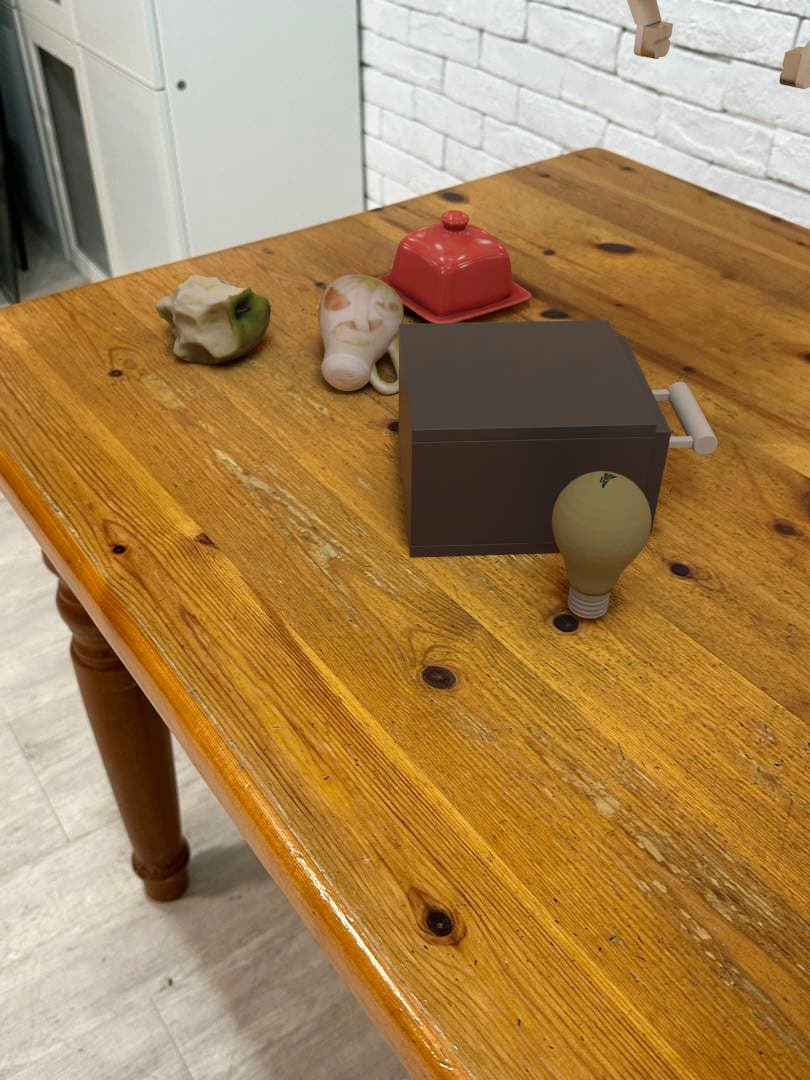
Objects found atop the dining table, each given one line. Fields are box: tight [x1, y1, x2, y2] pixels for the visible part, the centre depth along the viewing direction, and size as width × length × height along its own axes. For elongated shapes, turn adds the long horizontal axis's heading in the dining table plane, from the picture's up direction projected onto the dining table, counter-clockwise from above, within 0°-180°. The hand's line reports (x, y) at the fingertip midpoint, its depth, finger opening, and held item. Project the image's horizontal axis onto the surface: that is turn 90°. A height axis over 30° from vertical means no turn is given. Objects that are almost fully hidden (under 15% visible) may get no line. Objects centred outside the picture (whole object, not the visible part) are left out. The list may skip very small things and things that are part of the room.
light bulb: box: [552, 471, 651, 620], centre depth 61 cm, size 6×6×10 cm
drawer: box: [616, 335, 719, 534], centre depth 71 cm, size 18×13×8 cm
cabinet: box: [397, 319, 657, 558], centre depth 71 cm, size 15×14×10 cm
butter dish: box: [376, 209, 533, 323], centre depth 95 cm, size 12×12×8 cm
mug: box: [317, 273, 405, 395], centre depth 86 cm, size 8×10×10 cm
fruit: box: [154, 274, 272, 365], centre depth 88 cm, size 9×9×8 cm
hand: (720, 70), depth 61 cm, fingers open, 8 cm apart
